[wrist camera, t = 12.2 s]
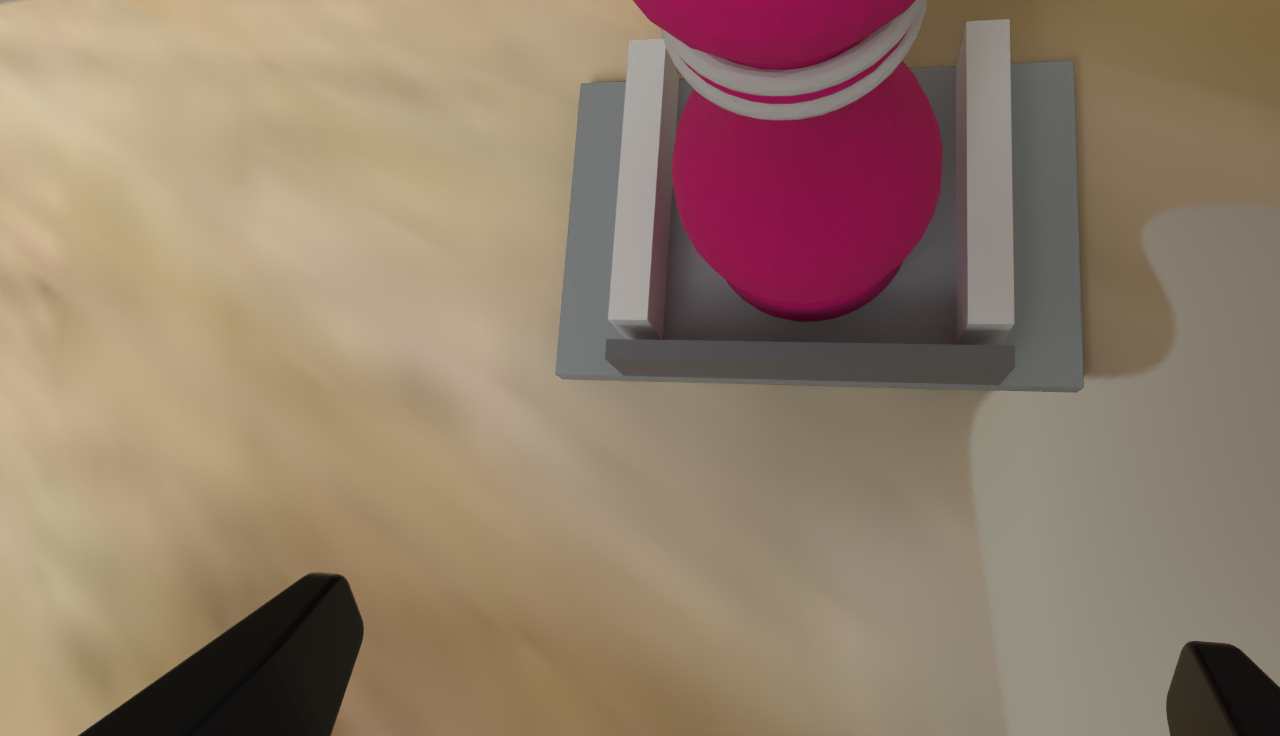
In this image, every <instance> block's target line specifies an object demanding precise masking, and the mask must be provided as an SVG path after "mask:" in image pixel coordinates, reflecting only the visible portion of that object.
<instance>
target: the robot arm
mask: <svg viewBox="0 0 1280 736" xmlns="http://www.w3.org/2000/svg"><path fill="white" fill-rule="evenodd" d="M363 633H364V627H363V620H362V617H361V615H360V612H359V609H358V607H357V604H356V601H355V599H354V596H353V593H352V591H351V588H350V585H349V583H348V581H347V579H346V578H344V577H343V576H342V575H339V574H330V573H310V574H307V575H305V576H304V577H302V578H301V579H299V580H298V581H296V582H295V583H294V584H292V585H291V586H289V587H288V588H287V589H285V590H284V591H282V592H281V593H279V594H278V595H277V596H275V597H274V598H272V599H271V600H270V601H268V602H267V603H265V604H264V605H262V606H261V607H260V608H258V609H257V610H255V611H254V612H253V613H251V614H250V615H248V616H247V617H245V618H244V619H243V620H241V621H240V622H238V623H237V624H236V625H234V626H233V627H231V628H230V629H228V630H227V631H226V632H224V633H223V634H221V635H220V636H219V637H217V638H216V639H214V640H213V641H211V642H210V643H209V644H207V645H206V646H204V647H203V648H201V649H200V650H199V651H197V652H196V653H194V654H193V655H192V656H190V657H189V658H187V659H186V660H184V661H183V662H182V663H180V664H179V665H177V666H176V667H175V668H173V669H172V670H170V671H169V672H167V673H166V674H165V675H163V676H162V677H160V678H159V679H158V680H156V681H155V682H153V683H152V684H150V685H149V686H148V687H146V688H145V689H143V690H142V691H141V692H139V693H138V694H136V695H135V696H133V697H132V698H131V699H129V700H128V701H126V702H125V703H124V704H122V705H121V706H119V707H118V708H116V709H115V710H114V711H112V712H111V713H109V714H108V715H107V716H105V717H104V718H102V719H101V720H99V721H98V722H97V723H95V724H94V725H92V726H91V727H90V728H88V729H87V730H85V731H84V732H82V733H81V734H80V735H78V736H331V733H332V730H333V727H334V724H335V721H336V718H337V715H338V712H339V709H340V706H341V703H342V700H343V697H344V694H345V691H346V688H347V685H348V682H349V679H350V676H351V673H352V671H353V668H354V665H355V662H356V659H357V656H358V653H359V650H360V647H361V643H362V640H363ZM1166 703H1167V704H1166V710H1167V720H1168V725H1169V731H1170V736H1280V687H1279V686H1278V685H1277V684H1276V683H1275V682H1274V681H1272V680H1271V679H1270V678H1269V677H1268V676H1267V675H1266V674H1265V673H1264V672H1263V671H1262V670H1261V669H1260V668H1259V667H1258V666H1257V665H1256V664H1255V663H1254V662H1253V661H1252V660H1251V659H1250V658H1249V657H1248V656H1246V655H1245V654H1244V653H1243V652H1242V651H1241V650H1240V649H1238V648H1237V647H1235V646H1233V645H1230V644H1225V643H1213V642H1201V641H1191V642H1188V643H1187V644H1185V646H1184V647H1183V649H1182V651H1181V654H1180V657H1179V660H1178V663H1177V666H1176V669H1175V672H1174V675H1173V678H1172V681H1171V685H1170V688H1169V691H1168V694H1167V701H1166Z"/></svg>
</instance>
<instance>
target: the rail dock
mask: <svg viewBox="0 0 1280 736" xmlns="http://www.w3.org/2000/svg"><path fill="white" fill-rule="evenodd" d="M909 69H910V70H911V71H912V72H913V73H914V75H915V76H916V78H917V80H918V82H919V84H920V86H921V87H922V89H923V91H924V93H925V95H926V96H927V98H928V100H929V102H930V105H931V107H932V109H933V112H934V114H935V116H936V119H937V121H938V124H939V129H940V135H941V141H942V147H943V155H942V177H941V191H940V194H939V198H938V201H937V205H936V208H935V212H934V215H933V217H932V219H931V221H930V223H929V225H928V227H927V229H926V231H925V233H924V235H923V237H922V238H921V240H920V241H919V242H918V244H917V245H916V246H915V248H914V249H913V250H912V252H911V253H910V254H909V255H908V256H907V257H906V258H905V259H904V261H903V263H902V265H901V267H900V269H899V271H898V272H897V274H896V275H895V276H894V278H893V279H892V280H891V282H890V283H889V284H888V285H887V287H886V288H885V289H884V290H883V291H882V292H880V293H879V294H878V295H877V296H876V297H875V298H874V299H873V300H872V301H870V302H869V303H867V304H866V305H864V306H862V307H861V308H859V309H858V310H855V311H853V312H851V313H849V314H846V315H843V316H840V317H837V318H834V319H829V320H823V321H814V322H798V321H792V320H787V319H782V318H777V317H774V316H771V315H769V314H766V313H764V312H762V311H760V310H758V309H757V308H755V307H754V306H752V305H751V304H749V303H748V302H746V301H744V300H743V299H742V298H741V297H740V296H739V295H738V294H736V293H735V291H734V290H733V289H732V288H731V287H730V286H729V285H728V283H727V281H726V280H725V278H723V277H722V276H721V275H719V274H718V273H717V272H716V271H715V270H714V269H713V268H712V267H711V266H710V265H709V264H708V263H707V262H706V261H705V260H704V259H703V258H702V257H701V255H700V254H699V253H698V252H697V251H696V249H695V248H694V246H693V244H692V242H691V240H690V239H689V237H688V235H687V233H686V231H685V230H684V227H683V224H682V221H681V218H680V215H679V212H678V208H677V203H676V198H675V192H674V186H673V180H672V156H673V150H674V144H675V139H676V133H677V128H678V123H679V120H680V117H681V114H682V111H683V108H684V106H685V104H686V102H687V100H688V98H689V96H690V94H691V92H692V91H693V89H694V88H693V87H692V86H691V85H690V84H689V83H688V82H687V81H686V80H685V79H679V76H678V73H677V70H676V67H675V65H674V63H673V61H672V59H671V57H670V55H669V53H668V51H667V49H666V46H665V42H664V39H646V40H629V50H628V63H627V76H626V81H625V82H603V83H582V84H581V88H580V99H579V110H578V122H577V133H576V145H575V156H574V168H573V179H572V190H571V202H570V213H569V225H568V236H567V248H566V259H565V271H564V282H563V293H562V305H561V316H560V328H559V339H558V351H557V362H556V373H555V374H556V375H557V376H559V377H560V378H562V379H584V380H622V381H660V382H698V383H737V384H775V385H813V386H852V387H890V388H928V389H967V390H1006V391H1043V392H1078V391H1079V390H1081V389H1082V388H1083V387H1084V381H1083V349H1082V317H1081V285H1080V253H1079V221H1078V189H1077V157H1076V125H1075V93H1074V61H1054V62H1033V63H1011V64H1010V19H1000V20H982V21H966V25H965V29H964V33H963V38H962V42H961V46H960V50H959V55H958V59H957V63H956V66H947V67H925V68H909Z"/></svg>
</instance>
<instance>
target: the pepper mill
mask: <svg viewBox="0 0 1280 736" xmlns="http://www.w3.org/2000/svg"><path fill="white" fill-rule="evenodd" d="M633 1H634V2H635V3H636V5H637V6H638V7H639V8H640V9H641V11H642V12H643V13H644V14H645V15H646V17H647V18H648V19H649V20H650V21H651V22H653V23H654V24H656V25H657V26H659V27H660V28H661V29H662V35H663V39H664V42H665V46H666V49H667V51H668V53H669V55H670V57H671V59H672V61H673V63H674V65H675V67H676V68H677V69H678V71H679V72H680V73H681V75H682V76H683V77H684V78H685V80H686V81H687V82H688V83H689V84H690V85H691V86H692V87H693V88H694V89H693V91H692V92H691V94H690V96H689V98H688V100H687V102H686V104H685V106H684V108H683V111H682V114H681V117H680V120H679V123H678V128H677V133H676V139H675V144H674V150H673V156H672V180H673V186H674V192H675V198H676V203H677V208H678V212H679V215H680V218H681V221H682V224H683V227H684V230H685V231H686V233H687V235H688V237H689V239H690V240H691V242H692V244H693V246H694V248H695V249H696V251H697V252H698V253H699V254H700V255H701V257H702V258H703V259H704V260H705V261H706V262H707V263H708V264H709V265H710V266H711V267H712V268H713V269H714V270H715V271H716V272H717V273H718V274H719V275H721V276H722V277H723V278H725V280H726V281H727V283H728V285H729V286H730V287H731V288H732V289H733V290H734V291H735V293H736V294H738V295H739V296H740V297H741V298H742V299H743V300H744V301H746V302H748V303H749V304H751V305H752V306H754V307H755V308H757V309H758V310H760V311H762V312H764V313H766V314H769V315H771V316H774V317H777V318H782V319H787V320H792V321H798V322H814V321H823V320H829V319H834V318H837V317H840V316H843V315H846V314H849V313H851V312H853V311H855V310H858V309H859V308H861V307H862V306H864V305H866V304H867V303H869V302H870V301H872V300H873V299H874V298H875V297H876V296H877V295H878V294H879V293H880V292H882V291H883V290H884V289H885V288H886V287H887V285H888V284H889V283H890V282H891V280H892V279H893V278H894V276H895V275H896V274H897V272H898V271H899V269H900V267H901V265H902V263H903V261H904V259H905V258H906V257H907V256H908V255H909V254H910V253H911V252H912V250H913V249H914V248H915V246H916V245H917V244H918V242H919V241H920V240H921V238H922V237H923V235H924V233H925V231H926V229H927V227H928V225H929V223H930V221H931V219H932V217H933V215H934V212H935V208H936V205H937V201H938V198H939V194H940V191H941V177H942V155H943V147H942V141H941V135H940V129H939V124H938V121H937V119H936V116H935V114H934V112H933V109H932V107H931V105H930V102H929V100H928V98H927V96H926V95H925V93H924V91H923V89H922V87H921V86H920V84H919V82H918V80H917V78H916V76H915V75H914V73H913V72H912V71H911V70H910V69H909V68H908V67H907V66H906V65H905V64H904V63H903V61H902V60H903V59H904V58H905V56H906V55H907V54H908V52H909V50H910V49H911V47H912V45H913V43H914V42H915V40H916V38H917V35H918V33H919V30H920V28H921V25H922V22H923V18H924V14H925V11H926V7H927V0H633Z"/></svg>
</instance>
